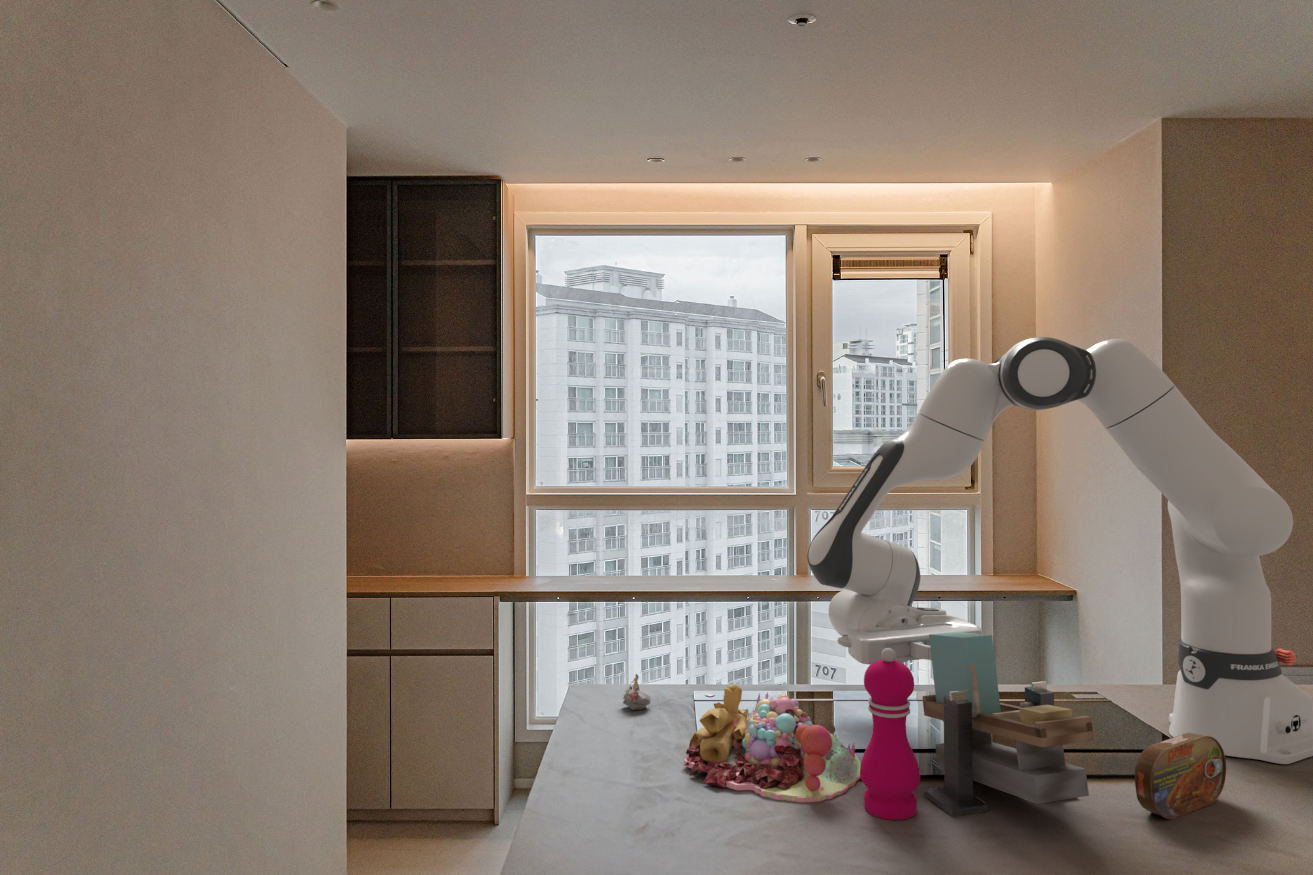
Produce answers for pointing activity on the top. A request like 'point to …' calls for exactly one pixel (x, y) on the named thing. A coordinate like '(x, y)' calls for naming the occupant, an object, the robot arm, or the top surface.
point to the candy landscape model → (771, 751)
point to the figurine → (636, 697)
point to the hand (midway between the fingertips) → (945, 655)
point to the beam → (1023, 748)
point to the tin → (1180, 775)
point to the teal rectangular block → (965, 667)
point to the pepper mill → (889, 741)
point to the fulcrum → (967, 751)
